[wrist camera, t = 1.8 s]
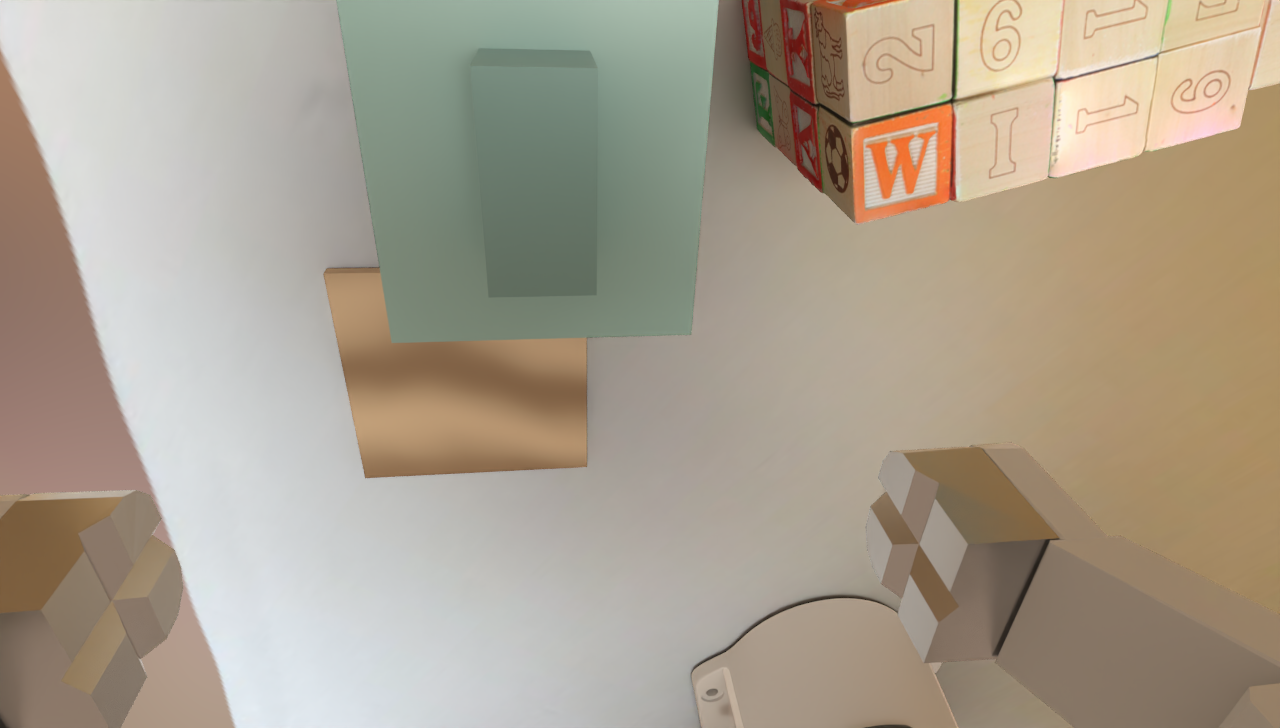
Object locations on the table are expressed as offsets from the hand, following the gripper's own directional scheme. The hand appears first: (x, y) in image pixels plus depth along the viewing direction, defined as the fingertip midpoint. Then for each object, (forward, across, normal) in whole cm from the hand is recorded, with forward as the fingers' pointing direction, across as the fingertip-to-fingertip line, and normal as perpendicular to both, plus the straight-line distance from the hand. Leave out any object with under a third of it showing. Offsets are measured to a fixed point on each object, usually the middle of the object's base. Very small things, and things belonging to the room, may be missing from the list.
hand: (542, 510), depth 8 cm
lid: (+16, 0, 0) cm, 16 cm away
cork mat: (+26, +4, +14) cm, 30 cm away
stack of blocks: (+26, -19, -4) cm, 33 cm away
